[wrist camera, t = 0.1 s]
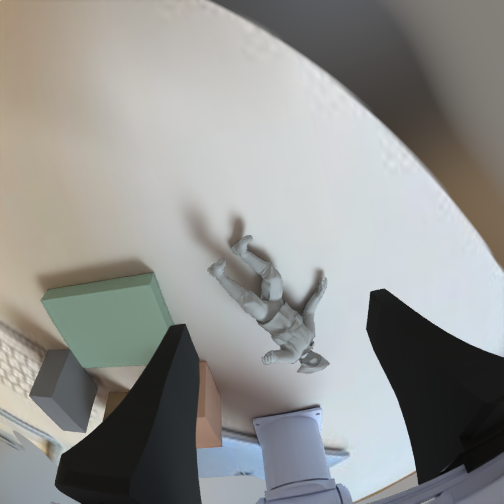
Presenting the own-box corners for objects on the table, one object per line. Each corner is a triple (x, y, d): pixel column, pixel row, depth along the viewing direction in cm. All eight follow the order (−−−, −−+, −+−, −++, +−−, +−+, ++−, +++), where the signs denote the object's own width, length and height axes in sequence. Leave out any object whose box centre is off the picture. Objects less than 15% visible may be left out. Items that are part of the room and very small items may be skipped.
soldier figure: (277, 207, 21) (373, 329, 23) (246, 229, 25) (333, 332, 27) (196, 282, 17) (321, 411, 19) (176, 293, 22) (282, 401, 23)
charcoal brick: (97, 387, 28) (85, 432, 23) (76, 386, 28) (63, 430, 23) (70, 349, 25) (51, 397, 20) (49, 350, 25) (28, 395, 20)
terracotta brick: (220, 396, 30) (222, 446, 25) (192, 399, 30) (190, 448, 25) (206, 360, 27) (205, 417, 22) (174, 364, 27) (168, 419, 22)
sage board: (183, 348, 26) (182, 361, 24) (87, 356, 26) (83, 367, 24) (153, 272, 22) (150, 284, 20) (47, 289, 22) (40, 300, 20)
